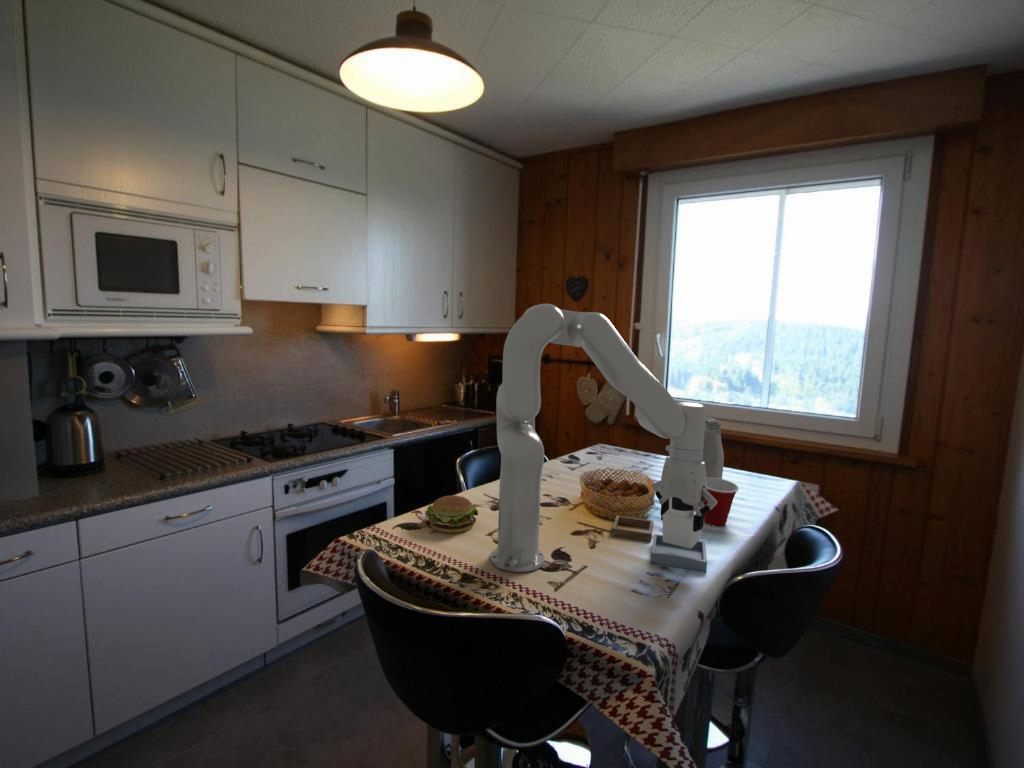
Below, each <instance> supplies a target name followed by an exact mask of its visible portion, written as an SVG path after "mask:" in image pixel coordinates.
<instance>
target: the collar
mask: <svg viewBox="0 0 1024 768" xmlns="http://www.w3.org/2000/svg"><path fill="white" fill-rule="evenodd" d="M613 522H614V523H613V524H612V527H611V536H613V537H620V538H625V539H631V540H638V541H645V542H652V536H653V529H654V520H650V519H644V518H636V517H630V516H623V515H615V519H614V521H613ZM619 525H626V526H631V527H639V528H646V529H648V532H646V531H641V530H634V529H626V528H620V527H619Z"/></svg>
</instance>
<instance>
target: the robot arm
mask: <svg viewBox="0 0 1024 768" xmlns="http://www.w3.org/2000/svg"><path fill="white" fill-rule="evenodd" d="M615 327H616V326H614V324H613V323H612V322H611V320H610V319H608V317H607V316H605V314H602V313H601V312H597V311H588V312H583V311H573V310H567V309H562V308H561V309H560V308H558V307H557V306H556V305H555V304H551V303H539V304H536V305H533V306H530V307H529V308H527V309H526V310H525V311H524V313H523V314H522V316H521V317H519V319H517V320H516V322H515V323H514V324H513V326H512V327H511V329H510V330H509V332H508V333H507V336H506V339H505V342H504V345H503V354H502V382H501V384H500V385H499V387H498V390H497V392H496V402H495V403H496V405H495V407H496V409H495V410H496V440H497V441H496V442H497V447H498V450H499V453H500V455H501V456H500V457H501V458H500V460H501V461H500V475H499V489H498V490H499V493H498V495H499V498H498V525H497V527H498V531H497V547H496V548H495V549H494V550H492V551H491V554H490V562H491V563H492V565H494V567H496V568H497V569H501V570H503V571H506V572H512V573H527V572H533V571H535V570H538V569H540V568H541V567H542V566H543V565H544V563H545V555H544V553H543V552H542V551H540V550H539V538H540V537H539V536H540V534H539V533H540V517H541V516H540V515H541V514H540V513H541V490H542V487H541V485H542V476H543V468H544V462H545V461H544V460H545V448H544V444H543V441H542V439H541V437H540V436H539V435H538V433H537V431H536V417H537V415H538V414H539V412H540V410H541V407H542V404H541V403H542V397H541V361H542V356H543V351H544V349H545V347H546V346H547V345H548V344H555V345H561V346H569V347H570V346H571V347H577V348H582V349H583V350H584V352H585V354H587V356H588V357H589V358H590V360H591V361H593V363H594V364H595V366H596V367H597V369H598V370H599V371H600V373H601V374H602V376H603V377H604V378H605V380H606V381H607V382H608V383H609V384H610V385H611V386H612V387H613V388H614V389H615V390H617V391H618V392H620V393H621V394H622V395H623V396H625V397H626V398H627V399H628V400H630V401H631V402H632V404H634V406H635V407H636V408H637V410H636V420H637V423H638V424H639V425H640V427H642V428H643V429H645V430H647V431H649V433H652V434H654V435H656V436H657V437H660V438H663V439H666V440H667V439H668V440H669V439H670V444H669V445H666V446H665V450H666V451H667V452H668V456H666V457H665V460H664V463H663V467H662V472H661V477H660V480H657V481H656V482H654V483H653V484H651V486H652V489H653V491H654V493H655V496H656V498H657V499H658V503H659V504H660V520H661V522H663V514H664V513H665V512H667V511H668V510H669V499H671V497H677V498H679V499H681V500H682V502H683V503H684V504H687V505H692V506H693V508H694V510H695V512H696V515H694V519H693V520H694V524H693V531H695V532H697V531H699V530H701V531H702V529H703V528H704V523H705V520H704V514H706V513H707V512H708V511H710V510H711V509H712V508H713V507H714V506H715V505H716V504H717V500H716V499H715V498H714V497H713V496H712V495H711V494H710V493H709V492H708V491H707V490H706V488H707V481H706V468H705V462H703V461H702V458H703V445H704V431H705V418H706V417H707V416H706V415H707V409H706V407H705V405H703V404H701V403H699V402H698V403H697V402H691V401H680V402H679V401H678V402H676V400H675V399H674V398H673V396H672V395H671V394H670V392H669V391H668V390H667V388H665V386H664V385H663V384H662V383H661V382H660V381H659V379H657V378H656V377H655V376H654V374H653V373H652V372H651V371H650V370H649V369H648V368H647V367H646V366H645V365H644V364H643V363H642V362H641V361H640V360H639V359H638V357H637V356H636V355H635V353H634V351H633V350H632V349H631V348H630V347H629V346H628V343H627V342H626V341H625V340H624V338H623V337H622V336H621V334H620V333H619V331H618V329H616V328H615ZM705 499H706V500H707V501H708V504H707V505H706V506H704V504H703V502H704V501H705Z"/></svg>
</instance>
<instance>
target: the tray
mask: <svg viewBox="0 0 1024 768" xmlns="http://www.w3.org/2000/svg"><path fill="white" fill-rule="evenodd" d="M651 546H652V547H651V554H650V564H653V565H660V566H664V567H671V568H678V569H683V570H689V571H695V572H700V573H701V572H702V573H707V569H708V568H707V566H708V560H707V559H708V557H707V547H706V541H704V540H699V541H698V542H697V543H696V544H695V545H694V546H693V547H692V548H691V549H689V548H685V547H681V546H677V545H673V544H669V543H665V542H663V534H659V533H658V534H657V533H654V534H653V541H652V545H651Z"/></svg>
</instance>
